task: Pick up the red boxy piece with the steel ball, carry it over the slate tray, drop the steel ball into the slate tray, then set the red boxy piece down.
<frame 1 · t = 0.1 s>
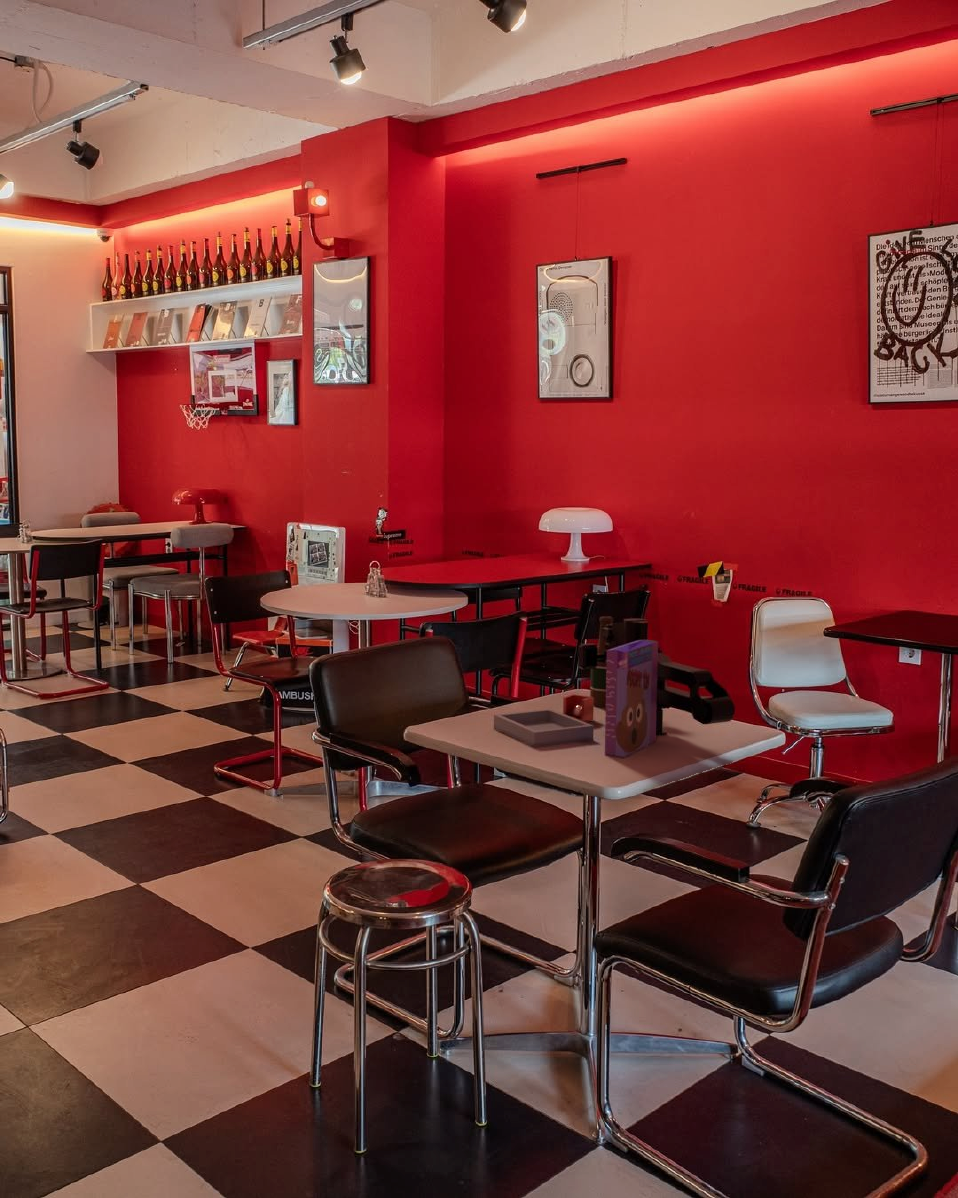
hand: (593, 649, 293), 17 cm above the table, tool horizontal, fingers open, 9 cm apart
red boxy piece: (578, 720, 285), on the table, touching steel ball
steel ball: (578, 711, 285), point 2 cm above the table, touching red boxy piece
beer bottle: (604, 705, 304), on the table
cereal box: (630, 749, 258), on the table, touching arm
slate tray: (542, 734, 270), on the table
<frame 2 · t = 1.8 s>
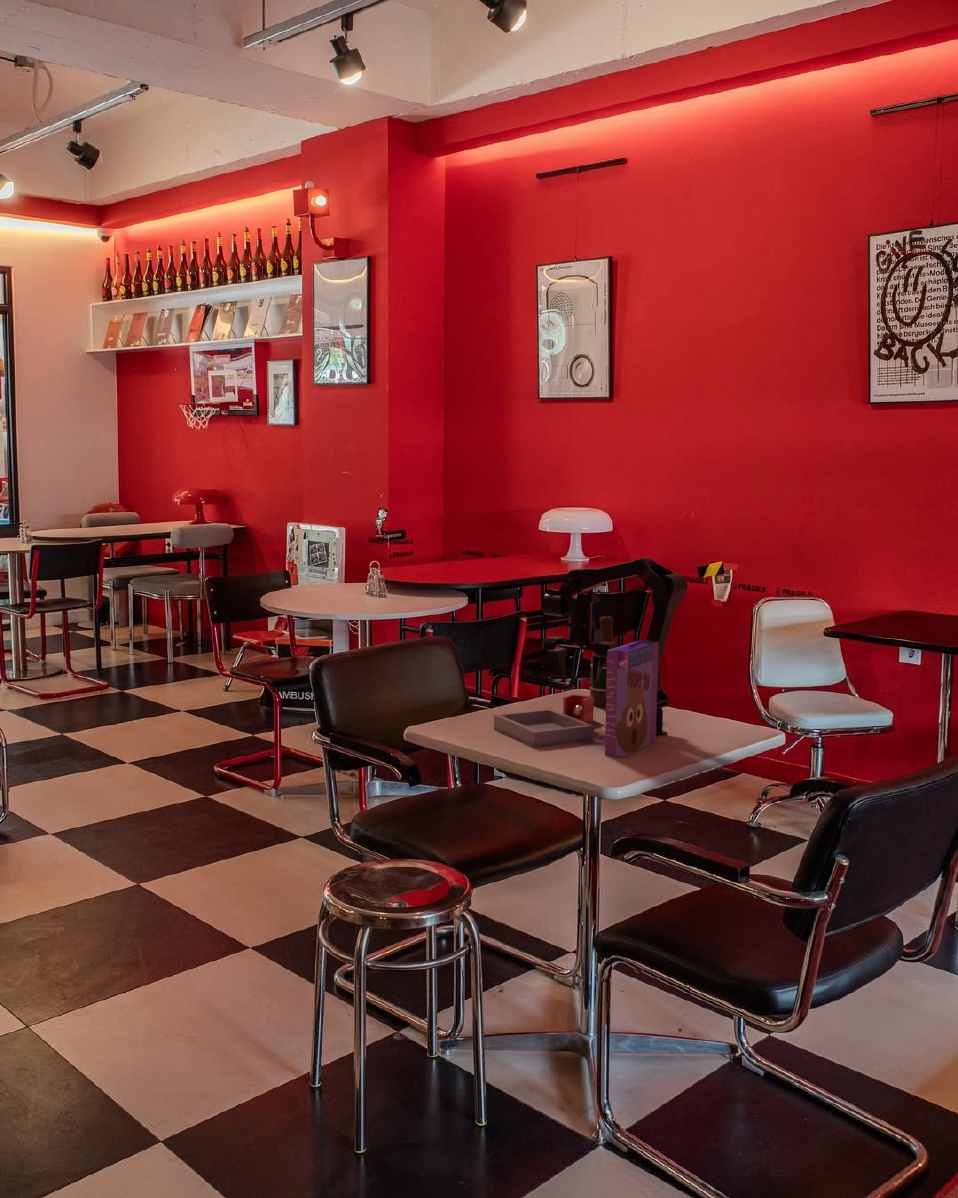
hand: (579, 679, 284), 11 cm above the table, tool pointing down, fingers open, 9 cm apart
cereal box: (630, 749, 258), on the table
everything else where it was.
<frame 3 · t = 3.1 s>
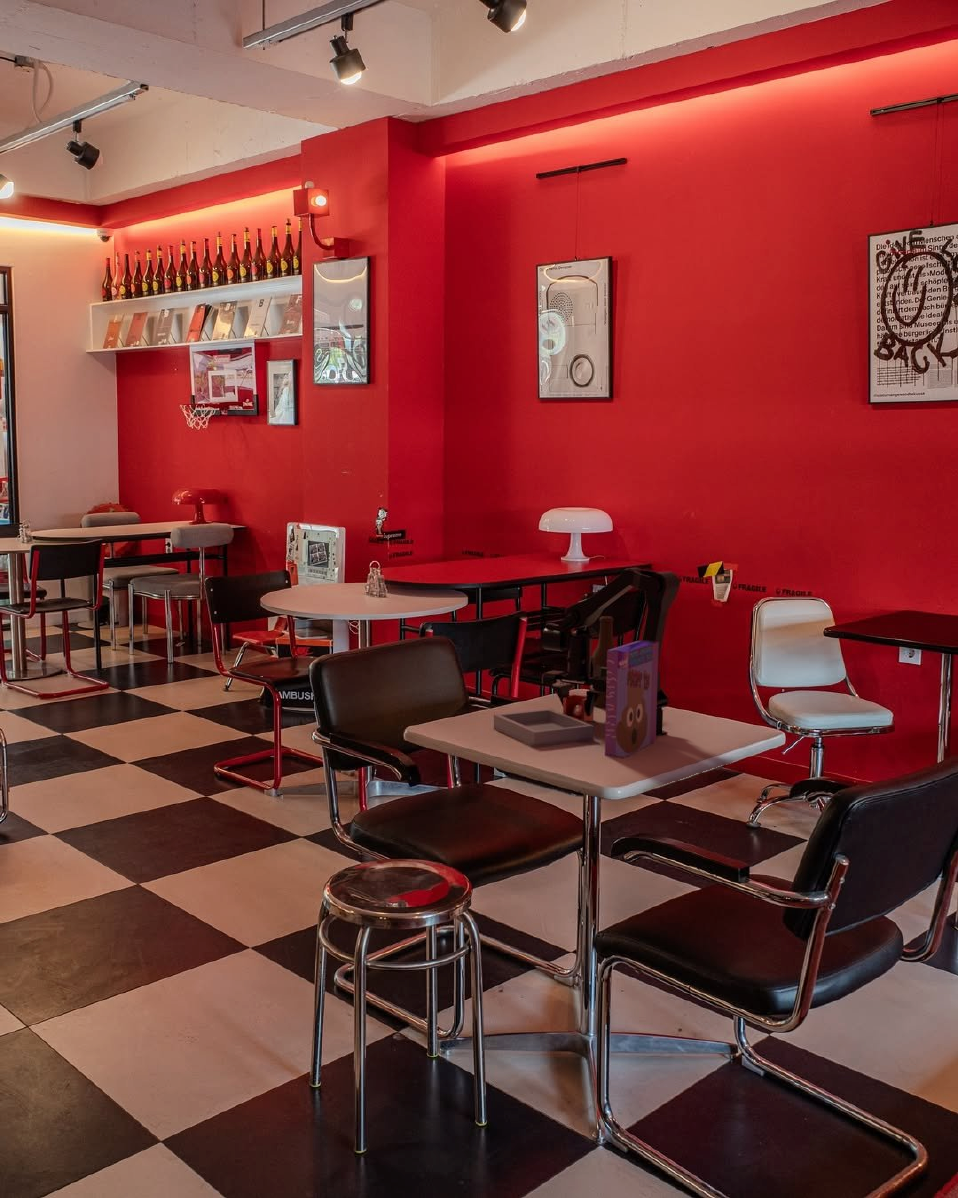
hand: (578, 714, 285), 2 cm above the table, tool pointing down, fingers closed on red boxy piece, 6 cm apart
red boxy piece: (578, 720, 285), on the table, touching gripper, steel ball
everything else where it was.
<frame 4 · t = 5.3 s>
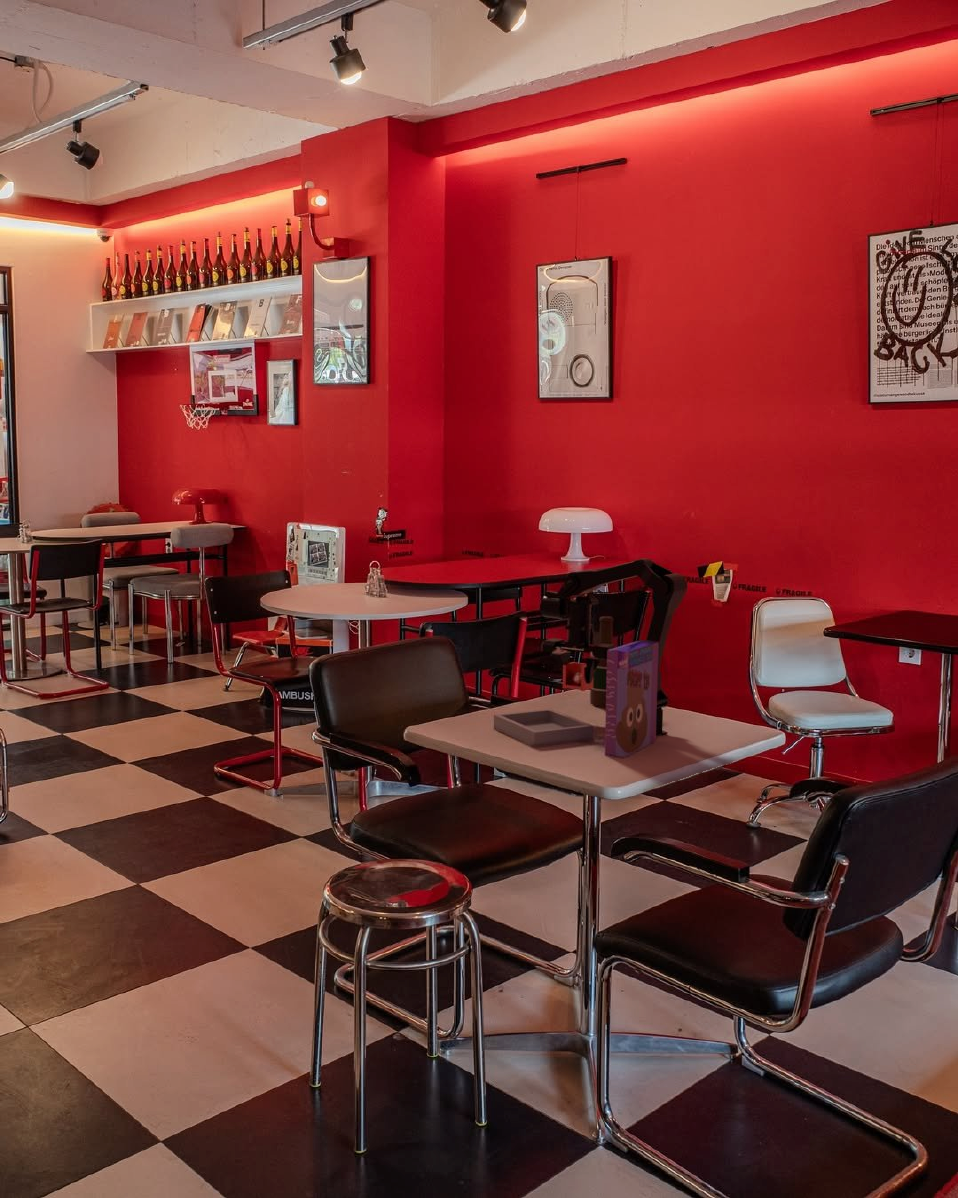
hand: (578, 682, 284), 10 cm above the table, tool pointing down, fingers closed on red boxy piece, 6 cm apart
red boxy piece: (577, 688, 284), point 8 cm above the table, touching gripper, steel ball
steel ball: (578, 678, 284), point 11 cm above the table, touching red boxy piece
everything else where it was.
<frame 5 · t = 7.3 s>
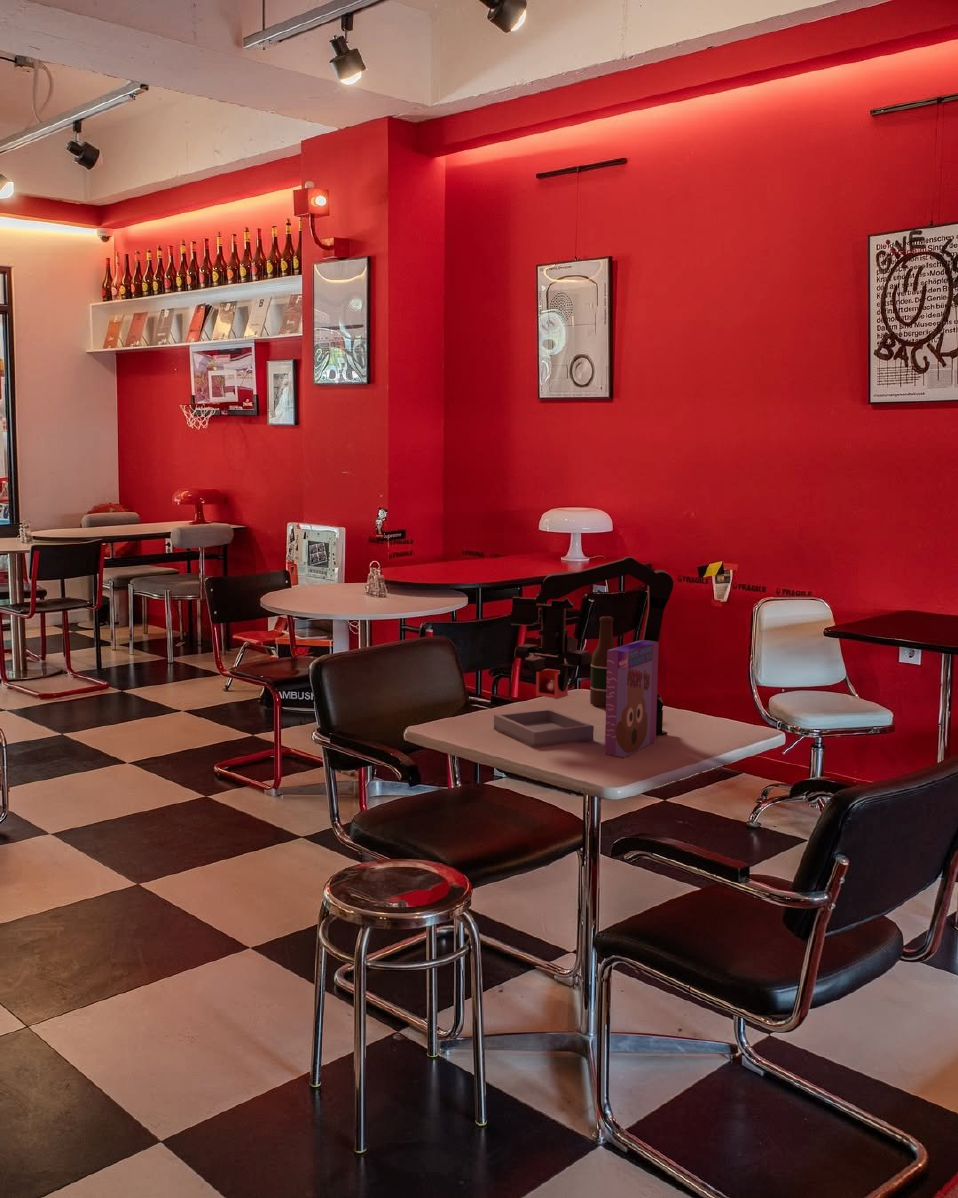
hand: (551, 689, 273), 10 cm above the table, tool pointing down, fingers closed on red boxy piece, 6 cm apart
red boxy piece: (551, 695, 273), point 9 cm above the table, touching gripper, steel ball
steel ball: (552, 686, 273), point 11 cm above the table, touching red boxy piece
everything else where it was.
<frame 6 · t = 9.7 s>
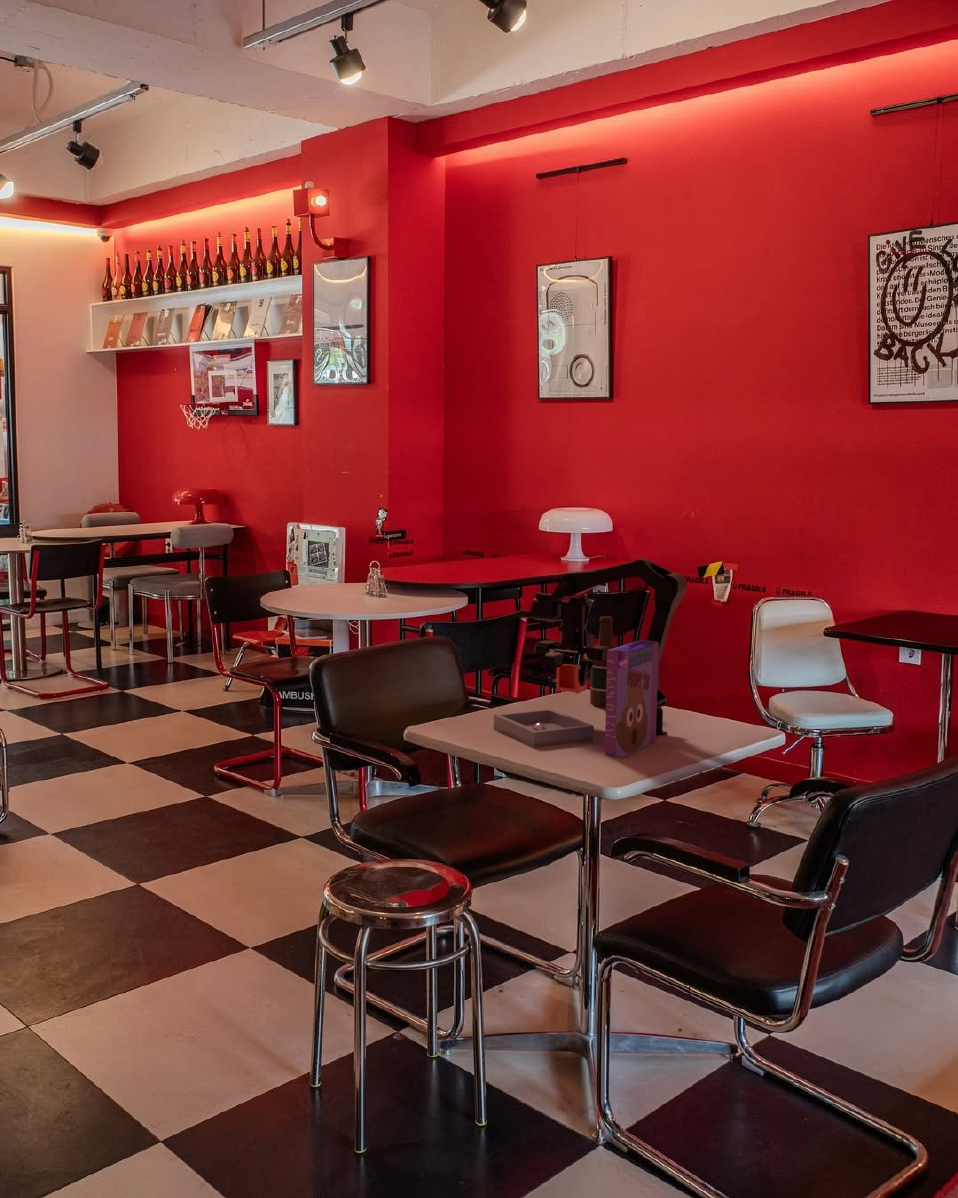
hand: (571, 684, 281), 10 cm above the table, tool pointing down, fingers closed on red boxy piece, 6 cm apart
red boxy piece: (571, 690, 281), point 8 cm above the table, touching gripper
steel ball: (539, 729, 266), point 2 cm above the table, tilted 108°, touching slate tray
everything else where it was.
when the fingers open (2 cm above the table, at t = 11.9 s): red boxy piece stays where it is, on the table.
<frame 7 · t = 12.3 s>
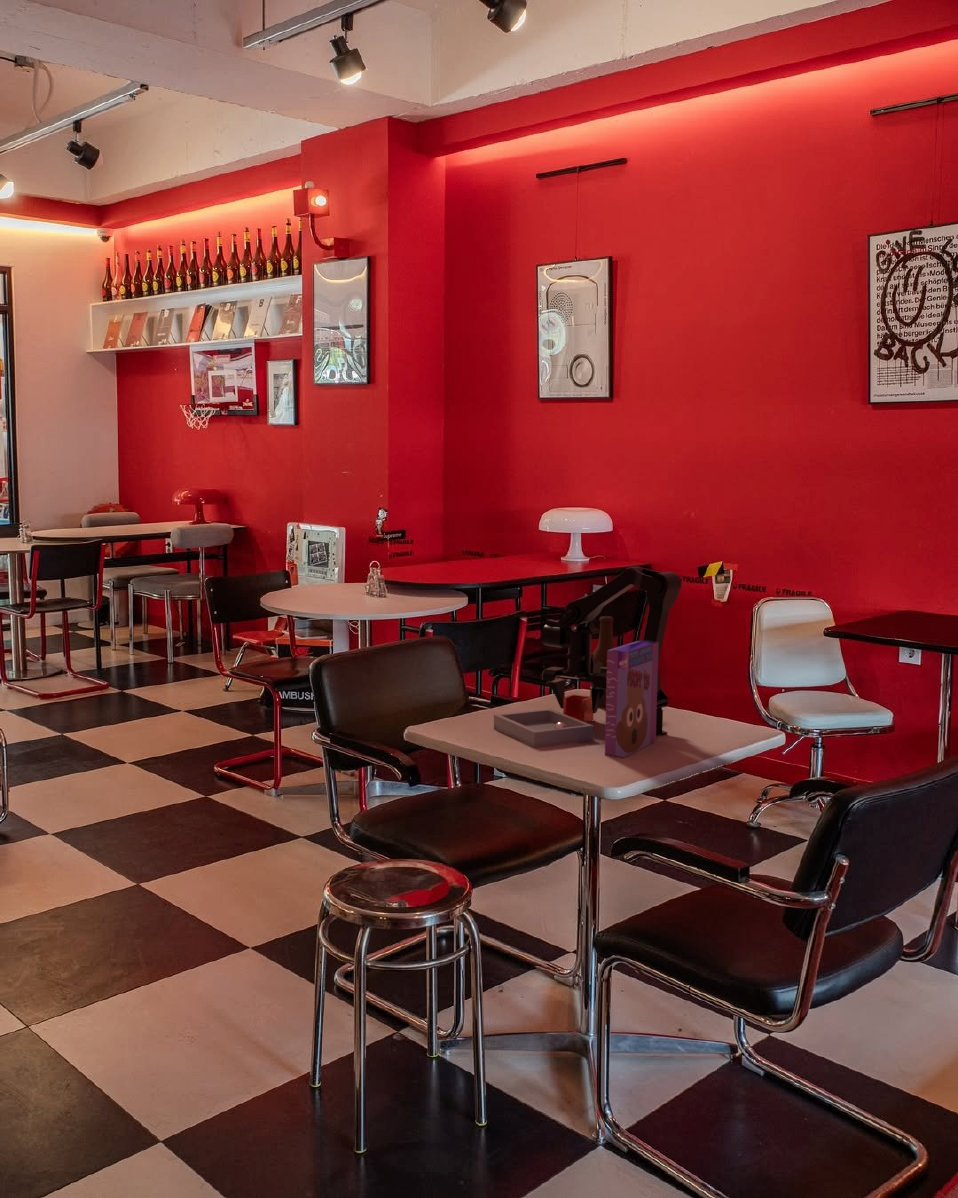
hand: (578, 710, 285), 2 cm above the table, tool pointing down, fingers open, 9 cm apart
red boxy piece: (578, 720, 285), on the table
steel ball: (560, 728, 267), point 2 cm above the table, tilted 90°, touching slate tray
everything else where it was.
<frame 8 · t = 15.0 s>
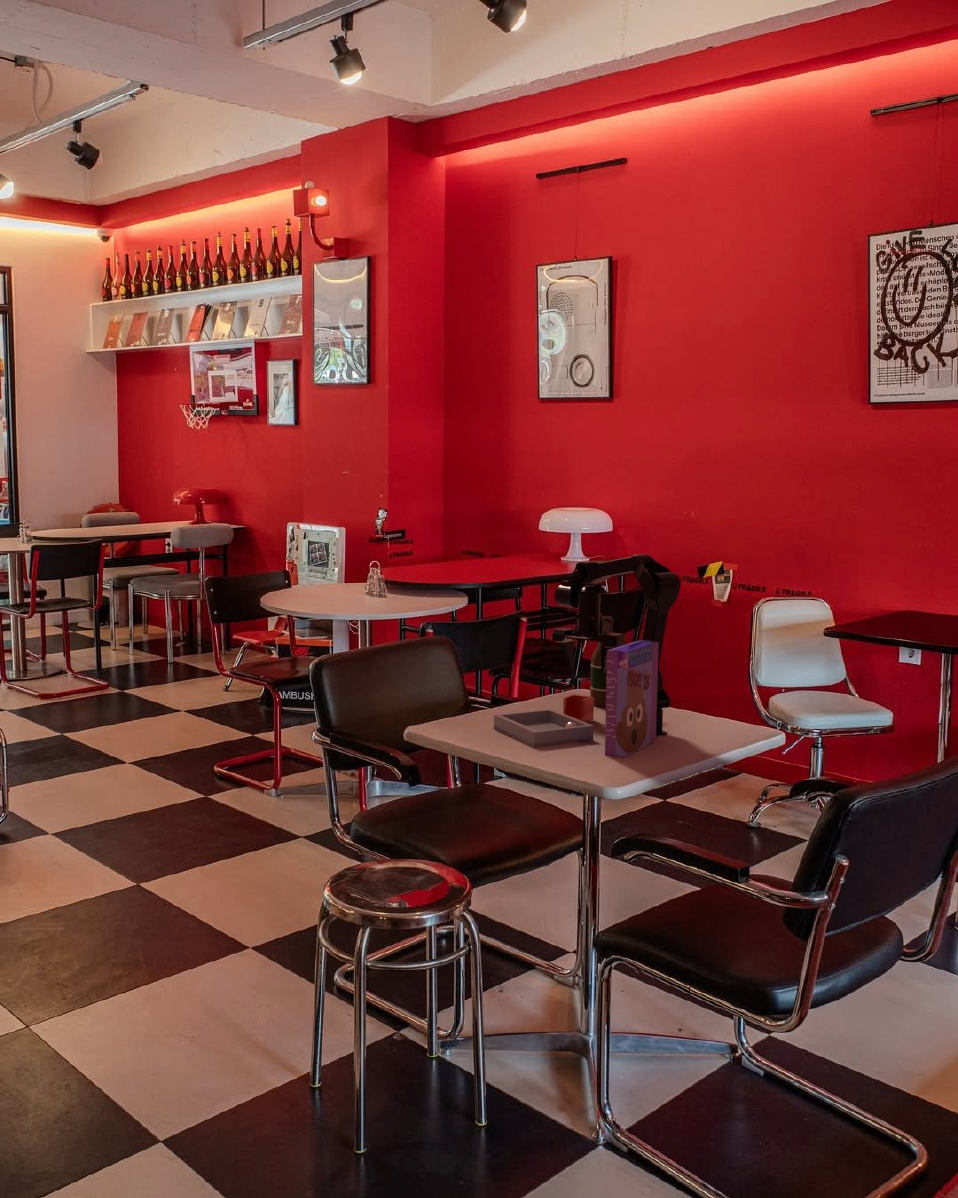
hand: (587, 670, 288), 12 cm above the table, tool pointing down, fingers open, 9 cm apart
steel ball: (571, 728, 267), point 2 cm above the table, tilted 144°, touching slate tray
everything else where it was.
at the end: steel ball inside the target area on the slate tray (7.2 cm from its centre), point 2.3 cm above the slate tray's base; red boxy piece tilted 0° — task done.
